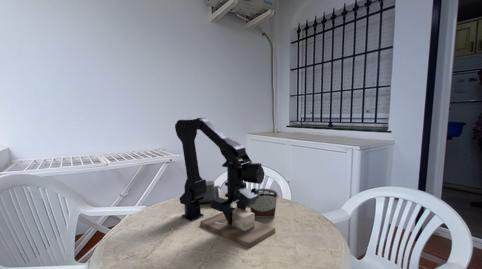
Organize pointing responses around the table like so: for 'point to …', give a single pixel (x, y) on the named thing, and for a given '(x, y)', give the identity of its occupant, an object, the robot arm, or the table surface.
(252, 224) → the block
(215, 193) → the pipe fitting
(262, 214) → the food container
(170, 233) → the table surface
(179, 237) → the table surface
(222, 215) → the oak board
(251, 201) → the robot arm
